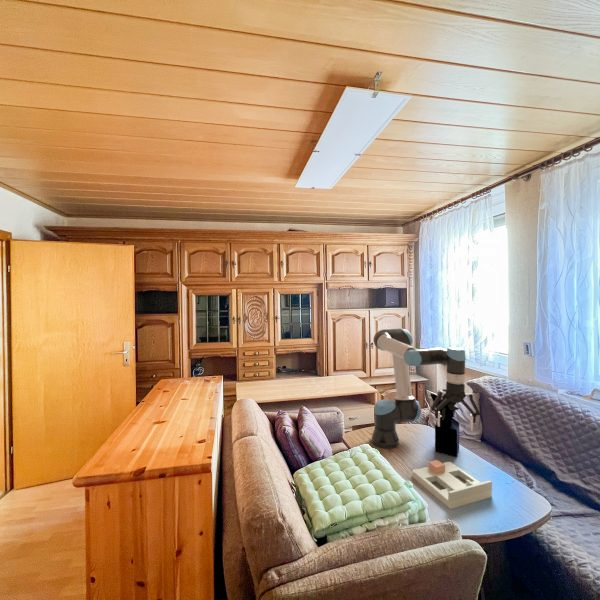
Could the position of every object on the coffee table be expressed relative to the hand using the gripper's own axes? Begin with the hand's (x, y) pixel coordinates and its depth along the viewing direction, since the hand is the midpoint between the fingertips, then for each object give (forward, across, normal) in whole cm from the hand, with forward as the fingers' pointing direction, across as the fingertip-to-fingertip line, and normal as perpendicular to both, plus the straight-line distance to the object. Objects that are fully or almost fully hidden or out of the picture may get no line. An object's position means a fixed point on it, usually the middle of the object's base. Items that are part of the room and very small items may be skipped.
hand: (454, 427), depth 142 cm
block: (+21, -7, 0) cm, 23 cm away
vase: (+25, 0, +26) cm, 36 cm away
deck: (+24, -3, -7) cm, 25 cm away
